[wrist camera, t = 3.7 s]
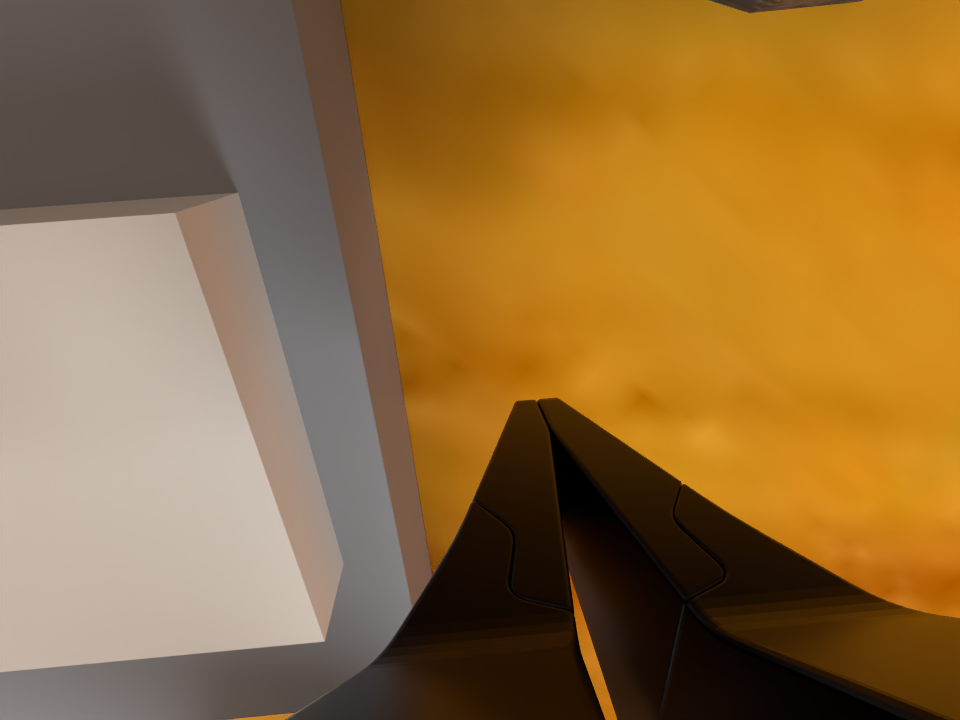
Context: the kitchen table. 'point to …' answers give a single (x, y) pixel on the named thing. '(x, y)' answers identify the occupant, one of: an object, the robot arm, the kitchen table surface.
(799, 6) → the grey brown round disc
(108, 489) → the ceramic tile
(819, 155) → the kitchen table surface
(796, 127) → the kitchen table surface
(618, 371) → the kitchen table surface
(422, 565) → the gray rectangular block
